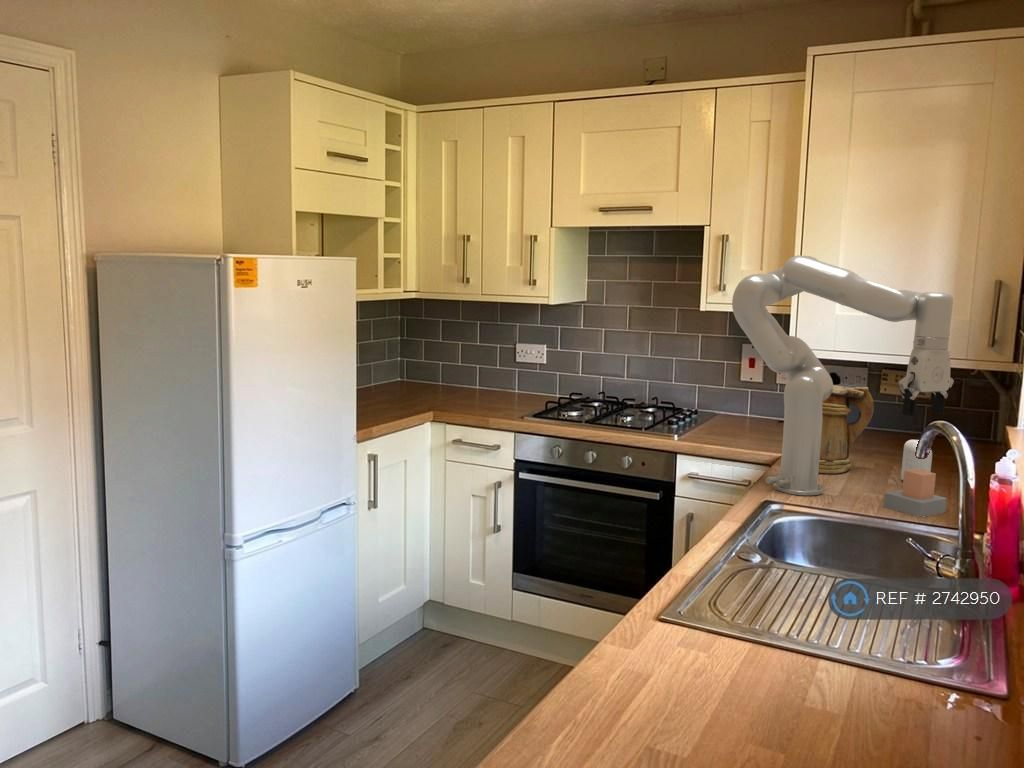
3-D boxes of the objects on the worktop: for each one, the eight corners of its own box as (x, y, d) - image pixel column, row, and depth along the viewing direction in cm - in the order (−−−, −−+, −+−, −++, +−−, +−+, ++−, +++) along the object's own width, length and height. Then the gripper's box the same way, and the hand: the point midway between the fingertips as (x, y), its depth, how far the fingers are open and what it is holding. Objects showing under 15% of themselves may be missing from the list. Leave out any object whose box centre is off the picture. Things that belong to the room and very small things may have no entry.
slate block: (920, 519, 202) (921, 503, 201) (883, 508, 210) (884, 492, 210) (945, 514, 207) (946, 498, 206) (908, 503, 215) (909, 488, 215)
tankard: (782, 457, 262) (788, 378, 258) (864, 465, 255) (871, 383, 252) (784, 471, 245) (790, 385, 241) (871, 479, 238) (879, 391, 235)
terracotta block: (919, 499, 205) (922, 475, 204) (901, 494, 209) (904, 470, 208) (933, 497, 207) (936, 473, 206) (915, 492, 211) (917, 468, 210)
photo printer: (931, 489, 228) (935, 445, 227) (915, 489, 228) (919, 444, 227) (913, 480, 238) (917, 437, 237) (898, 479, 238) (902, 436, 237)
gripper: (918, 346, 196) (910, 418, 198) (969, 345, 203) (961, 415, 205) (891, 342, 203) (884, 413, 205) (942, 342, 210) (935, 410, 212)
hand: (923, 414), depth 205 cm, fingers open, 9 cm apart
